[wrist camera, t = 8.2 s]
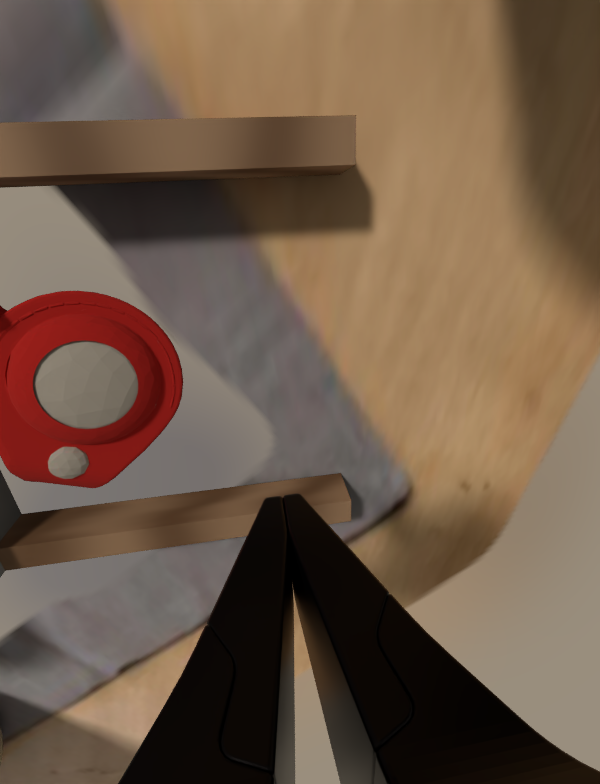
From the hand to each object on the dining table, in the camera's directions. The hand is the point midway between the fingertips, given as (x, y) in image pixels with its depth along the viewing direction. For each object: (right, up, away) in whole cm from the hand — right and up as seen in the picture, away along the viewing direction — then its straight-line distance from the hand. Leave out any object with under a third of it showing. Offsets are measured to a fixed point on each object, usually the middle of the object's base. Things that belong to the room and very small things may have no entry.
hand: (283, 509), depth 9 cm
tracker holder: (-11, +5, +9) cm, 15 cm away
